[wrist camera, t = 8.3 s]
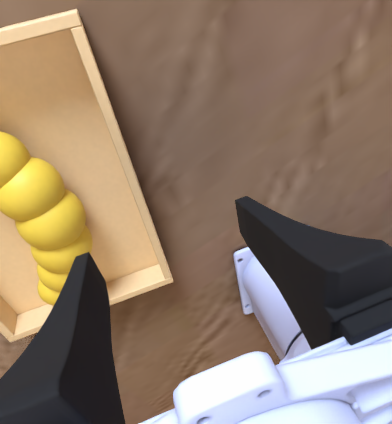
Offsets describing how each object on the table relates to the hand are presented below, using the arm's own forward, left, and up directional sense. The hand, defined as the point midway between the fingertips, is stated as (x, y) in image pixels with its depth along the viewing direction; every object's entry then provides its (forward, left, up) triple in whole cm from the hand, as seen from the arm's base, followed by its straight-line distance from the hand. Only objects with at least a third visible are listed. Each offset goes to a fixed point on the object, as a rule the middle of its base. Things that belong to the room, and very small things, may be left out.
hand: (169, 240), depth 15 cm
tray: (0, +7, -9) cm, 11 cm away
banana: (0, +7, -9) cm, 11 cm away
